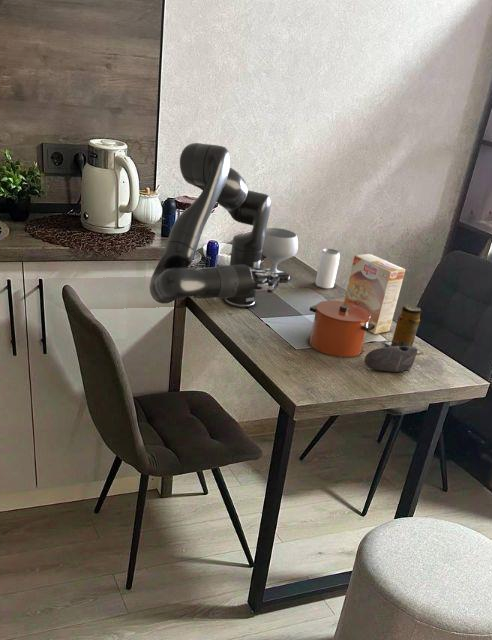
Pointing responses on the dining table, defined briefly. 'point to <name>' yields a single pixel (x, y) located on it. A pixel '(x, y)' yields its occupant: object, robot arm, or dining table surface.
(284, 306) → the dining table surface
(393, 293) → the coffeecake box
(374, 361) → the perforated stone tool
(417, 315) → the condiment
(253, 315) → the dining table surface
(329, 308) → the pot
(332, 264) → the can
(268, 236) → the chalice
